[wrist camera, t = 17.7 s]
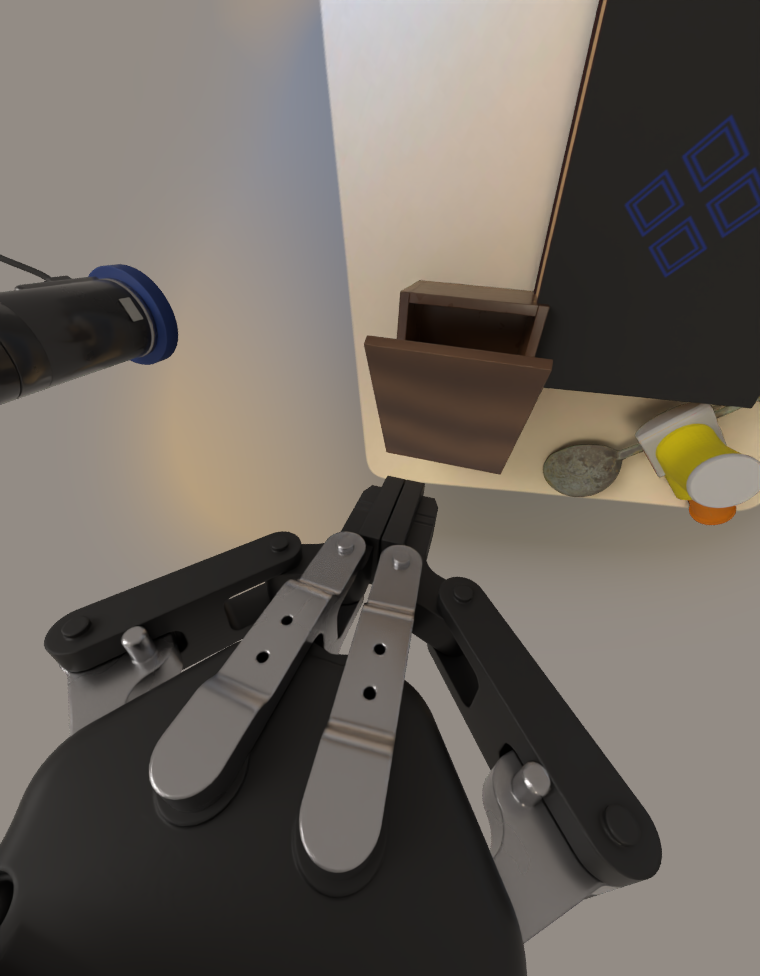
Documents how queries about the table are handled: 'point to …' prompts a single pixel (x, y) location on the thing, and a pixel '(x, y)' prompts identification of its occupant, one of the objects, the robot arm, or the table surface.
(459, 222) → the table surface
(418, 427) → the lid
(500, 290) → the box
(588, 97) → the book
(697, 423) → the toy
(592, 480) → the soupspoon
